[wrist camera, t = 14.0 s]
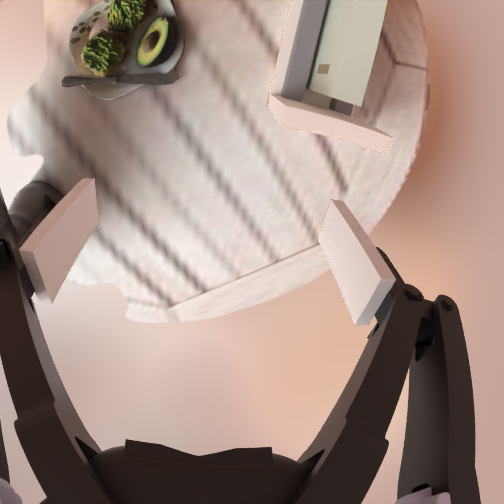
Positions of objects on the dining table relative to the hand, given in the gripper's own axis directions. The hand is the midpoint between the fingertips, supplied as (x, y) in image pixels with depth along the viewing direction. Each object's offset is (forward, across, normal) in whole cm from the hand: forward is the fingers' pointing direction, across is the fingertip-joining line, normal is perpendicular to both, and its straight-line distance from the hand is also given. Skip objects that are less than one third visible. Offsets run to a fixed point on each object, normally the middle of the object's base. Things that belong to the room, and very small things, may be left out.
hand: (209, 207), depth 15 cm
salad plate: (+28, -15, +11) cm, 34 cm away
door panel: (+25, +12, +14) cm, 31 cm away
